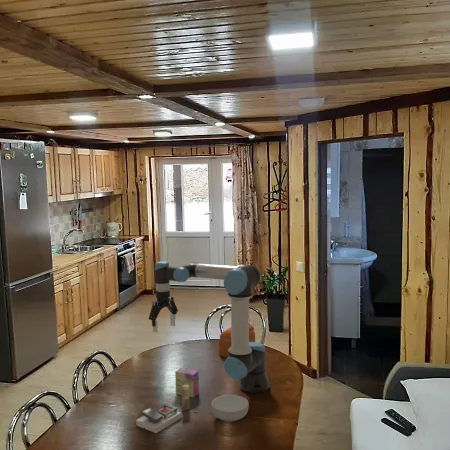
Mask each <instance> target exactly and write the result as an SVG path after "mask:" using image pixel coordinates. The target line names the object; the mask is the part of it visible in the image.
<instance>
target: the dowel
mask: <svg viewBox="0 0 450 450" xmlns="http://www.w3.org/2000/svg"><path fill="white" fill-rule="evenodd" d="M181 390H182V395H181V410H182V411H189V410H190V408H191V407H190V406H191V405H190V403H191V401H190V397H189V385H182V386H181Z"/></svg>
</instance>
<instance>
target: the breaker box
mask: <svg viewBox="0 0 450 450" xmlns="http://www.w3.org/2000/svg"><path fill="white" fill-rule="evenodd" d="M152 409H153V410H154V411H156V412H158V413H159V414H162V416H163V415H164V416H163V417H162V419H161V420H160V421H158V422H156V423H154V422H153V421H151V420H150V419H148V418H147V417H145V416H144V415H142V416H141V417H139V418H137V419H136V426H137V427H140V428H142V429H144V428H145V430H147V431H150V432H152V433H155V434H157V433H159V432H161V431H162V430H163V429H166V428H167V427H169V426H170V425H172V424H173V423H175V422H177V421H179V420H180V419H182V412H180V411H178V409H179V408H178V407H177V406H173V405H171V404H167V403H162V404H160V405H159V406H157V407H155V408H152ZM162 409H169V411H167V412H166V413H165V412H162V411H161V410H162ZM169 413H170V414H169ZM168 414H169V415H168Z"/></svg>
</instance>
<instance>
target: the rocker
mask: <svg viewBox="0 0 450 450" xmlns="http://www.w3.org/2000/svg"><path fill="white" fill-rule="evenodd" d="M153 409H154V408H151V407H147V408H146V409H144V410H143V411H142V412H141V413H142V415H141V416H145V417H147V418H148V419H150V420H151V421H153V422H154V423H156V422H158V421H160V420H161V419H162V417H163V416H162V415H161V414H159V413H158V412H156V411H154V410H153Z"/></svg>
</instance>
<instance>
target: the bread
mask: <svg viewBox="0 0 450 450" xmlns="http://www.w3.org/2000/svg"><path fill="white" fill-rule="evenodd" d="M219 335H220V336H219V340H218V354H219V355H220V356H222V357H224V358H228V349H229V348H230V347H231V326H230V327H228V328H227V329H226V330H223V332H221V334H219ZM249 342H256V333H255V328H254V326H253V325H251V324H249Z"/></svg>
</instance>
